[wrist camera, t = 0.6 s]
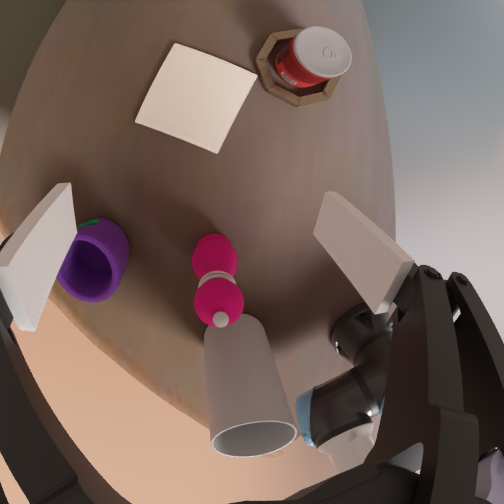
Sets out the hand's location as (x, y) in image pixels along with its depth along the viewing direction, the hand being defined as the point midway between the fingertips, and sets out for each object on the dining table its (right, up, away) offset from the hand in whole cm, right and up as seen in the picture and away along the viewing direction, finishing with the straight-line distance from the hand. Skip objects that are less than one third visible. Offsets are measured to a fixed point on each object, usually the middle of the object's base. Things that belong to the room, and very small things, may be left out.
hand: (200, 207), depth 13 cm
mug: (-26, -1, +30) cm, 40 cm away
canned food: (+10, +27, +23) cm, 37 cm away
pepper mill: (-4, -2, +34) cm, 34 cm away
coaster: (-6, +21, +23) cm, 32 cm away
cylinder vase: (-1, -19, +42) cm, 46 cm away
